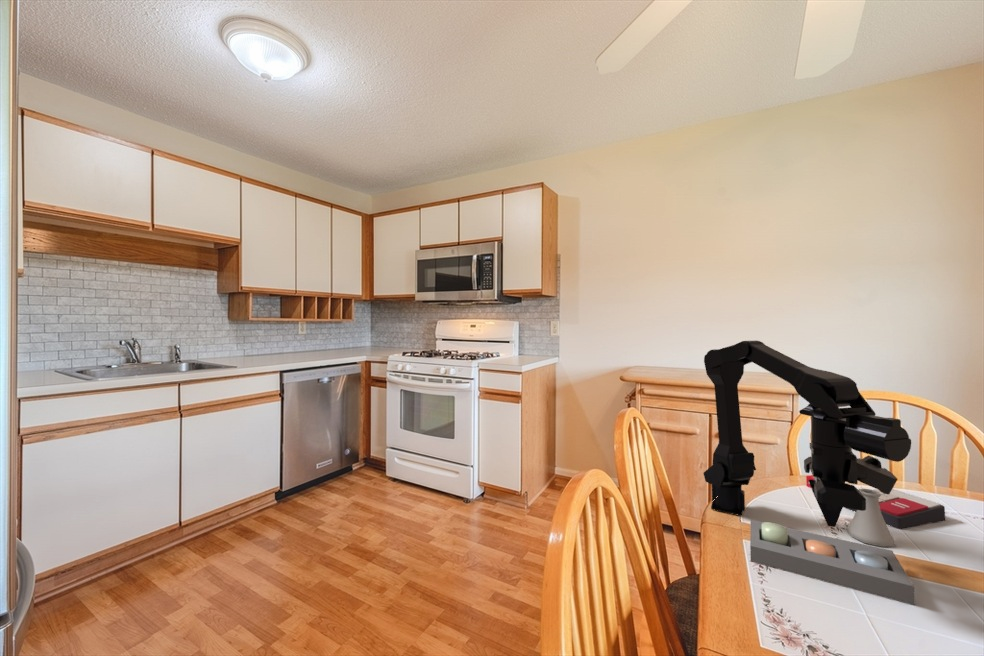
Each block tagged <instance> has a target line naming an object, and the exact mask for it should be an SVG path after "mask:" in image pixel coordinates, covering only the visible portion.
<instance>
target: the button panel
mask: <svg viewBox="0 0 984 656" xmlns="http://www.w3.org/2000/svg"><path fill="white" fill-rule="evenodd" d="M762 523H764V522H762V521H758V520H753V519H750V534H749V535H750V538H749V539H750V540H749V542H750V549H749V550H750V562H751V563H752V562H753V563H755V564H759V565H764V566H767V567H770V568H773V569H774V568H775V569H779V570H782V571H786V572H789V573H793V574H798V575H800V576H805V577H809V578H812V579H816V580H819V581H823V582H827V583H830V584H834V585H838V586H842V587H845V588H849V589H852V590H856V591H861V592H864V593H867V594H872V595H874V596H875V595H876V596H879V597H882V598H886V599H890V600H894V601H898V602H901V603H904V604H909V605H913V606H916V601H915V600H916V598H915V597H916V596H915V593H916V591H915V589H916V587H915V585H914V584H913V582H912V580H911V578H910V577H909V575H908V574H907V572H906V571H905V568H903V567H904V566H902V564H901V562H900V561H899V559H898V558H897V555H895V552H894V551H893V550H892V549H891V550H890V549H887V548H881V547H877V546H872V545H870V544H868V545H867V544H865V543H863V544H862V543H860V542H859V543H858V542H854V541H850V540H845V539H840V538H836V537H832V536H826V535H821V534H818V533H813V532H809V531H804V530H800V529H794V528H789V527H785V526H784V527H785V528H786V529H787V530H788V546H784V545H780V544H776V543H772V542H767V541H763V540H762ZM807 540H818V541H822V542H825V543H827V544H829V545H831V546H832V547H834V549H835V558H834V557H830V556H826V555H822V554H818V553H813V552H809V551H806V541H807ZM856 551H867V552H871V553H874V554H877V555H879V556H881V557H883V558H885V559H886V560H887V563H888V570H884V569H880V568H876V567H872V566H868V565H863V564H859V563H855V552H856Z"/></svg>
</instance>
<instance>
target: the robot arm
mask: <svg viewBox="0 0 984 656" xmlns="http://www.w3.org/2000/svg"><path fill="white" fill-rule="evenodd" d="M703 363H704V368H705V372H706V375H707V377H708V378H709V380H710V381H711V382H712V384H713V386H714V396H715V397H714V398H715V399H714V400H715V409H716V410H715V411H716V422H717V432H718V433H717V434H718V444H717V445H716V448H714V449H715V450H714V451H713V454H712V465H711V466H710V467H708V468H707V469H706V470H705V471H704V472H703V476H704V481H705V483H708V484H710V485H711V506H710V508H711V510H712V509H715V510H714V511H717V510H718V511H717V512H722V513H726V512H727V514H730V513H733V514H732V515H735V514H738V515H737V516H740V515H742V516H743V512H745V508H746V503H745V502H746V501H745V500H746V498H745V495H746V494H745V490H743V489H742V486H747V485H749V484H750V481H751V478H752V477H754V474H755V471H757V468H756V465H755V455H754V452H749V451H748V449H747V448H746V447H745V446H744V443H743V436H742V435H743V433H742V423H741V412H740V410H741V409H740V399H739V389H738V386H739V384H740V382H741V379H742V377H743V375H744V370H745V366H746V365H747V364H751V363H753V364H755V365H757V366H759V367H760V368H762V369H764V370H765V371H768V372H769V373H771V374H773V375H774V376H776V377H779V378H780V379H782V380H783V381H785V382H786V383H789V384H790V386H793V388H794V390H795V391H796V394H797V395H798V396H800V397H801V398H803V399H804V400H805V401H806V402H807V403H808V404H807V406H805V407H802V409H800V410H799V411H798V412H799V414H801V415H802V416H803V415H805V416H809V417H810V419H811V421H810V422H811V423H810V426H811V427H810V428H811V429H810V431H811V432H810V436H811V437H810V439H811V441H810V442H809V449H810V451H811V452H810V453H811V456H808V457H806V458H805V459H804V460H803V470H804V472H805V473H806V474H809V473H810V472H811V475H813V477H814V480H808V481H809V484H810V486H811V488H810V489H811V491H812V494H813V495H814V498H815V501H816V502H817V506H818V507H819V509H820V512H821V513H822V515H823V517H824V520H825V522H826V524H827V526H828V527H832V528H835V527H837V523H838V521H839V518H840V515H841V513H842V510H843V509H846V508H850V509H855V510H860V511H864V510H866V499H865V497H864V496H863V494H862V493H861V492H860V491H859V488H857V487H856V486H855V485H858V482H860V483H862V484H864V485H867V486H869V487H871V488H874V489H877V490H879V491H880V492H882V493H885V494H890V492H891V490H892V489H894V487H895V485H896V483H897V482H898V477H896V476H895V474H894V473H893V472H891V471H889V470H888V469H887V468H885V467H883V466H882V462H881V461H880V460H879V459H878V458H881V459H884V460H889V461H891V462H895V463H896V462H897V463H899V462H901V461H903V460H905V459H906V458H907V457H908V455H909V454H910V452H911V449H912V439H911V438H910V436H909V434H908V431H907V430H906V429H905V428H904V427H902V421H901V419H900V418H894V417H883V416H878V415H876V412H875V411H874V410H873V408H872V407H871V405H870V404H869V403H868V401H867V400H866V399H865V398H864V397H863V395H862V394H861V393H860V391H859V388H858V386H857V385H858V384H857V382H855V380H853V379H852V378H850V377H848V376H845V375H843V374H842V375H841V374H838V373H835V372H832V371H827V370H823V369H818V368H813V367H811V366H808V365H806V364H804V363H802V362H800V361H798V360H796V359H794V358H792V357H790V356H788V355H786V354H784V353H781V352H780V351H778V350H776V349H774V348H772V347H770V346H768V345H766V344H765V343H764V342H762V341H760V340H742V341H740V342H737V343H736V344H732V345H729V346H726V347H722V348H719V349H710V350H709V351H708V352H707V353H706V354H705V355H704V357H703ZM853 450H854V451H855V452H859V453H864V454H867V456H864V457H862V458H860V457H857V455H856V454H854V452H853ZM873 456H874V457H873ZM876 457H878V458H876ZM882 467H883V468H882ZM717 496H718V497H717ZM716 497H717V498H716ZM714 499H715V500H714ZM713 500H714V501H713ZM712 501H713V502H712Z"/></svg>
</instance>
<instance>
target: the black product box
mask: <svg viewBox="0 0 984 656" xmlns="http://www.w3.org/2000/svg"><path fill="white" fill-rule="evenodd" d="M873 490H874V491H877V492H879V493H880V494H881V496H880V497H879V506H880V510H881V514H882V516H883V518H884V521H885V523H886V525H887V526H889V525H890V526H889V527H893V528H895V529H898V530H905V529H910V528H915V527H920V526H923V525H927V524H931V523H933V524H934V523H935V524H936V523H939V522H940V523H941V522H945V521H946V509H945V506H944V505H943V504H941V503H939V502H936V501H932V500H929V499H927V498H922V497H919V496H916V495H914V494H910V493H906V492H904V491H901V490H899V489H895V488H893V489H892V490H891V492H890V494H885V493H882V492H880V491H879V490H878V489H876V488H874V489H873ZM845 509H846V510H848V511H851V510H852V512H854V511H855V512H854V513H856V511H857V510H855V509H850V508H845Z"/></svg>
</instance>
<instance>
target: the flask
mask: <svg viewBox="0 0 984 656" xmlns="http://www.w3.org/2000/svg"><path fill="white" fill-rule="evenodd" d="M858 490H859V491H860V492H861V493H862V494H863V496H864V497H865V499H866V510H864V511H860V510H857V511H856V512H854V516H853V518H852V519H851V521H850V522H849V524H848V526H847V528H846V531H847V533H848V535H849V536H850V537H852V538H854V539H856V540H858V541H860V542H862V543H863V544H866V545H867V544H868V545H871V546H872V545H874V546H876V547H877V546H879V547H883V548H884V547H886V546H887V547H896V546H897V545H896V542H895V540H894V538H893V535H892V534H891V531H890V530H889V528H888V525H887V524H886V523H885V521H884V518H883V516H882V514H881V510H880V506H879V497H880V496H881V494H880V493H879V492H877V491H874V490H875V489H869V488H858Z"/></svg>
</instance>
